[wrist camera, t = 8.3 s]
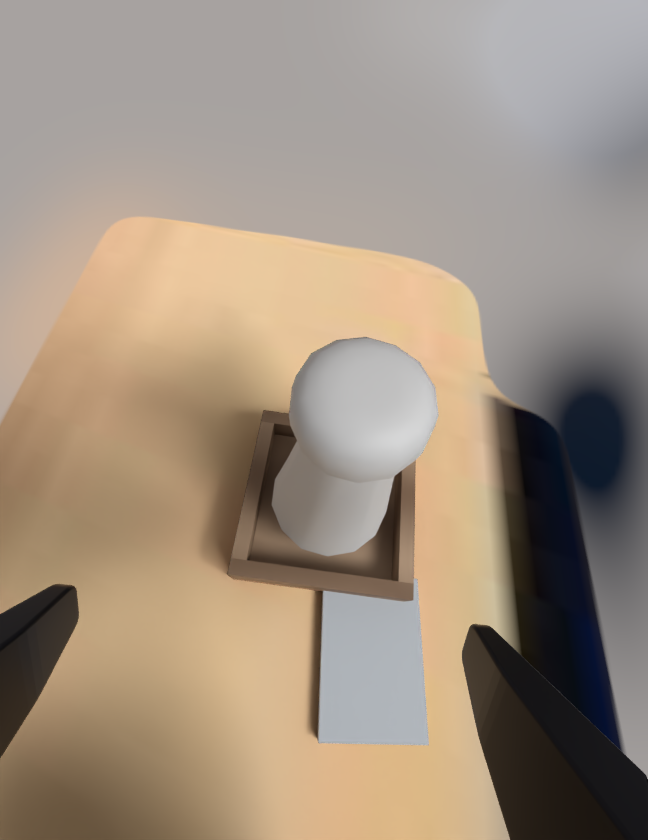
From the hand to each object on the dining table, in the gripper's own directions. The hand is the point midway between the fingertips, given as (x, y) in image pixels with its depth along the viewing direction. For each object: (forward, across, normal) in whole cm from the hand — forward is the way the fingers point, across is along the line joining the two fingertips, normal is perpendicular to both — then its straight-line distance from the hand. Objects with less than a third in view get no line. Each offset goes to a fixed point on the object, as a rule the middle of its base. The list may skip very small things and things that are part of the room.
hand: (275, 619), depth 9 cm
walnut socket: (+13, -2, +5) cm, 14 cm away
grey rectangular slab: (+8, -5, +10) cm, 13 cm away
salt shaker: (+12, -2, +5) cm, 13 cm away
